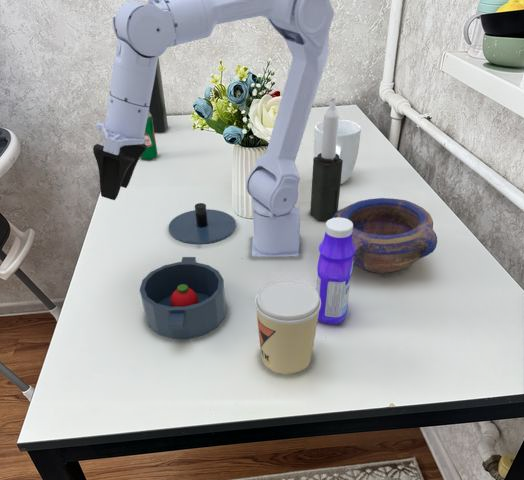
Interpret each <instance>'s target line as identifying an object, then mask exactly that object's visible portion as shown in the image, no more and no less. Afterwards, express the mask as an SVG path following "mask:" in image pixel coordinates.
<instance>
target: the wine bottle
mask: <svg viewBox="0 0 524 480" xmlns="http://www.w3.org/2000/svg"><path fill="white" fill-rule="evenodd" d="M159 57H160V56H158V62H157V67H156V74H155V79H154V84H153V90H152V95H151V101H150V107H149V111H150V114H151V115H152V121H153V127H154V133H155V134H163V133H165V132H166V131H167V130H168V128H169V125H168V124H169V123H168V117H167V110H166V109H167V108H166V101H165V95H164V93H165V92H164V86H163V79H162V72H161V71H162V70H161V65H160V58H159Z"/></svg>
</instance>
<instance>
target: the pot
mask: <svg viewBox="0 0 524 480" xmlns="http://www.w3.org/2000/svg"><path fill="white" fill-rule="evenodd" d="M181 284H185V285H187V286H188V288H190V289H192V290H193V291H194V292H195V293H196V295H197V297H198V304H194V305H190V306H186V307H172V306H171V296H172V294H173V292H174V291H175V290H177V287H178V286H179V285H181ZM225 293H226V292H225V281H224V278H223V276H222V275H221V273H220V271H219V270H218V269H216V268H215V267H212V266H211V265H209V264H205V263H201V262H197V257H196V256H182V258H181V261H178V262H173V263H167V264H165V265H162V266H160V267H158V268H156V269H153V270H152V271H150V272H149V273H148V274H147V275H145V277H144V278H143V279H142V281H141V283H140V287H139V294H140V298H141V303H142V309H143V311H144V312H143V313H144V317H145V320H146V322H147V325H148V328H150V330H152V332H155V333H156V334H157V335H159V336H162V337H165V338H168V339H173V340H186V339H188V340H189V339H194V338H198V337H201V336H202V337H203V336H205V335H207V334H209V333H211V332H212V331H214V330H215V329H217V328H218V327H219V326H220V325H221V323H223V321H224V319H225V318H226V311H227V310H226V309H227V304H226V294H225Z"/></svg>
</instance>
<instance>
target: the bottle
mask: <svg viewBox="0 0 524 480" xmlns="http://www.w3.org/2000/svg"><path fill="white" fill-rule="evenodd" d="M325 222H326V223H325V229H324V230H325V232H324V236H323V239H322V241H321V243H320V244H319V246H318V251H319V256H318V259H317V267H316V268H317V269H316V270H317V271H316V272H317V273H316V274H317V275H316V286H315V290H316V291H317V292H318V295H319V296H320V299H321V307H320V310H319V315H318V321H317V322H320V323H322V324H330V325H338V324H341V323H342V322H343V321H344V320H345V318H346V317H347V313H348V309H349V296H350V295H349V294H350V287H351V280H352V274H353V271H354V262H353V255H354V253H355V246H354V245H353V241H352V232H353V223H352V222H351V221H350V220H348V219H346V218H340V217H338V218H332V219H330V220H326V221H325Z"/></svg>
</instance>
